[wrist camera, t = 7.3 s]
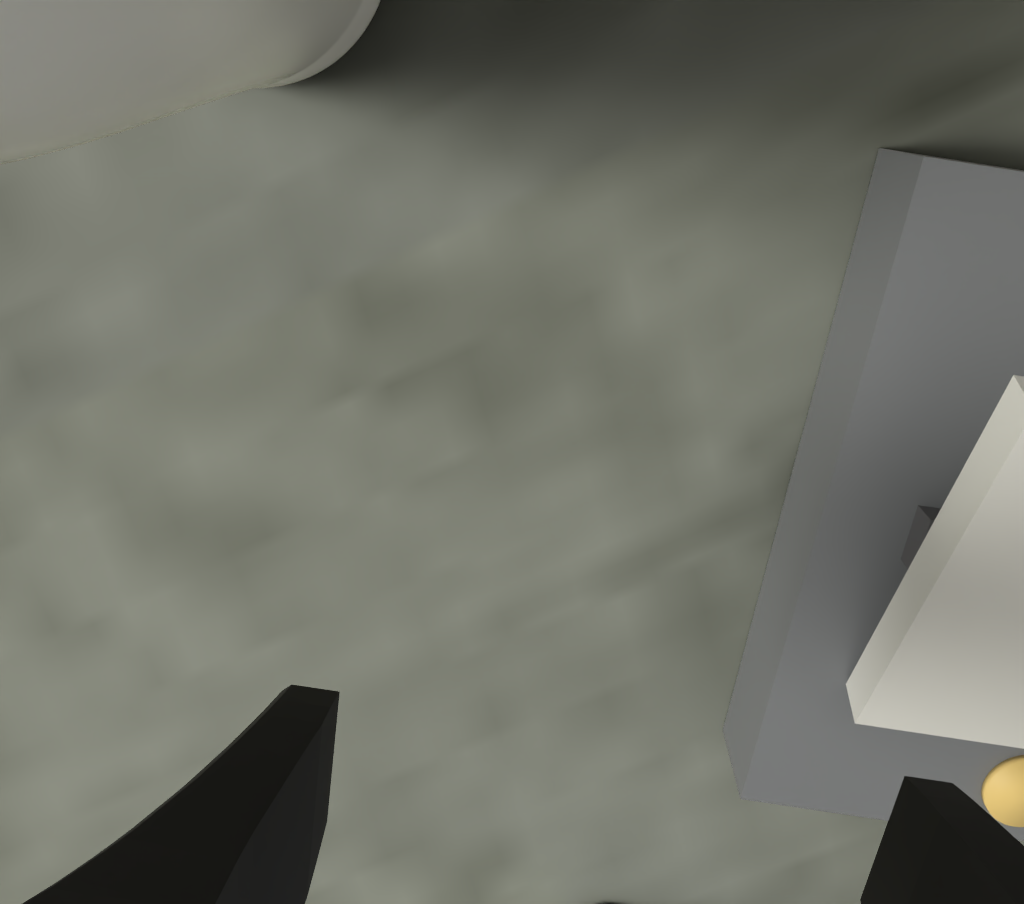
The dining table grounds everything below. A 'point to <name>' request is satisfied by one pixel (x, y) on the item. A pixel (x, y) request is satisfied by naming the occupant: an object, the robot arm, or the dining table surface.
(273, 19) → the drinking glass
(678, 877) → the dining table surface
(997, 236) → the switch panel
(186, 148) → the dining table surface
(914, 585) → the switch
